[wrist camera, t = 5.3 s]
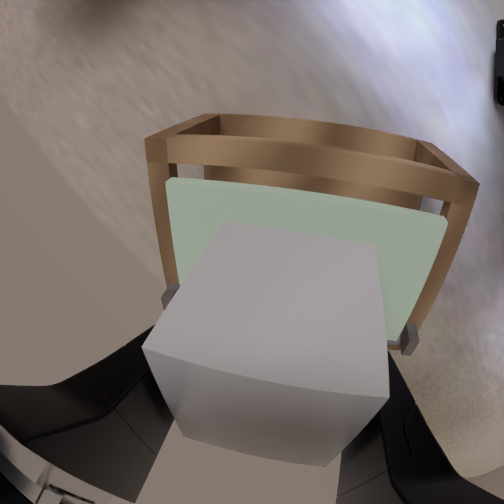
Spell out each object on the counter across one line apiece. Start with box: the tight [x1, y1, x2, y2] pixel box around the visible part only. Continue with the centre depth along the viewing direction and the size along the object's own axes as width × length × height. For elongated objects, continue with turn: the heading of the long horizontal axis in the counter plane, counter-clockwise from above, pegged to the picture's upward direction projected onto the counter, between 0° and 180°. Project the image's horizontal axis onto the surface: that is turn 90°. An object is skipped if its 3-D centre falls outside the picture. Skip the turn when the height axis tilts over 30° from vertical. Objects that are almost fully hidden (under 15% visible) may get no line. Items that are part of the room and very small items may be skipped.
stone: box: [142, 221, 389, 467], centre depth 8 cm, size 5×5×5 cm
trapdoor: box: [165, 177, 448, 345], centre depth 14 cm, size 12×10×1 cm
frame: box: [145, 114, 480, 356], centre depth 17 cm, size 15×11×9 cm
